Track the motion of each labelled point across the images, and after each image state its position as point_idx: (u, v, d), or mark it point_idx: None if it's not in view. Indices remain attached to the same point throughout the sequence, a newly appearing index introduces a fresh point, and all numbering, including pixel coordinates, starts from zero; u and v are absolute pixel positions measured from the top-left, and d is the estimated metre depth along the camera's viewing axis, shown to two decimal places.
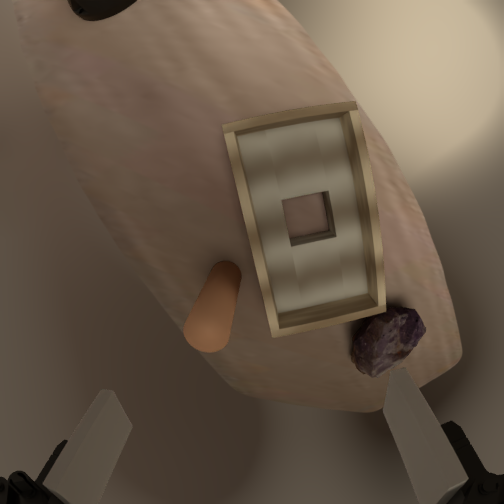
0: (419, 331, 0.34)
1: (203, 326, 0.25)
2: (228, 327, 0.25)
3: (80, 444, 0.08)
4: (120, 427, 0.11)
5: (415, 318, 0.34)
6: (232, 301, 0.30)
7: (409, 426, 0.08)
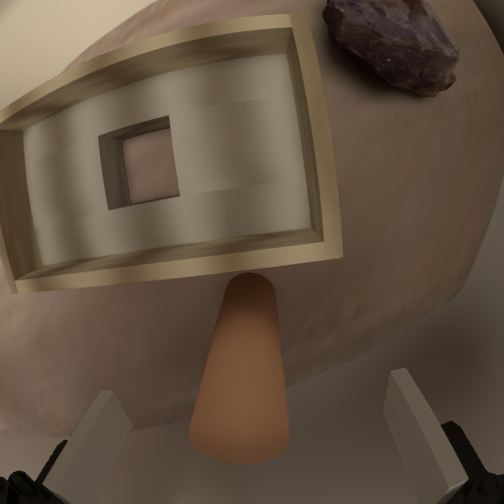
0: None
1: (221, 440, 0.10)
2: (227, 403, 0.10)
3: (80, 444, 0.08)
4: (120, 427, 0.11)
5: None
6: (230, 338, 0.14)
7: (408, 426, 0.08)
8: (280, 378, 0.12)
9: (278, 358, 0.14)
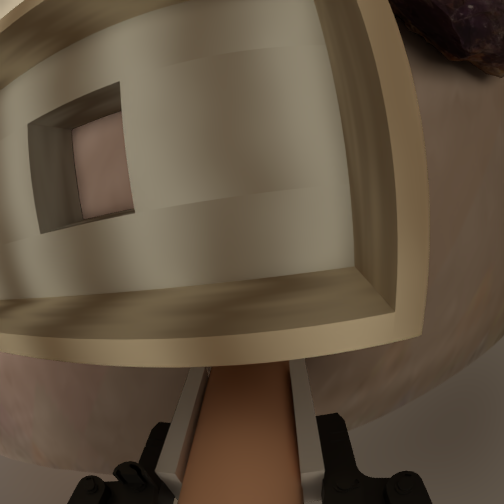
0: None
1: None
2: None
3: (188, 421, 0.10)
4: None
5: None
6: (217, 474, 0.07)
7: (294, 411, 0.11)
8: None
9: (298, 500, 0.06)
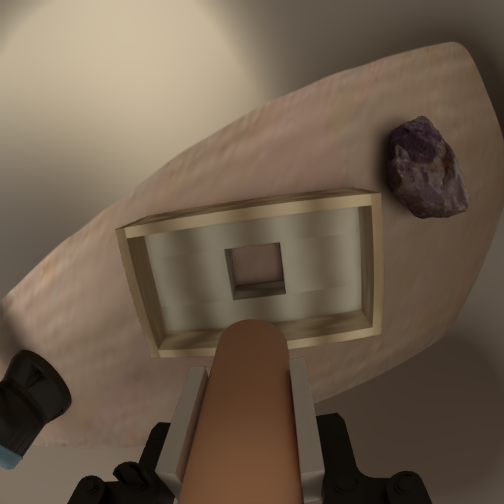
0: (422, 128, 0.23)
1: None
2: None
3: (189, 421, 0.10)
4: None
5: (403, 132, 0.23)
6: (217, 470, 0.07)
7: (294, 411, 0.11)
8: None
9: (297, 497, 0.06)
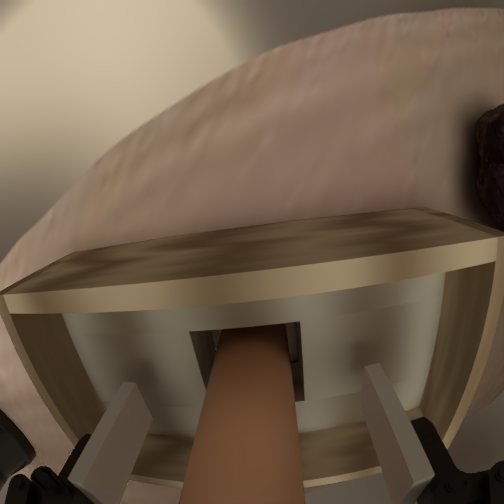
0: None
1: None
2: None
3: (105, 436, 0.09)
4: (142, 419, 0.12)
5: None
6: (225, 428, 0.09)
7: (380, 420, 0.09)
8: (298, 490, 0.07)
9: (295, 454, 0.08)
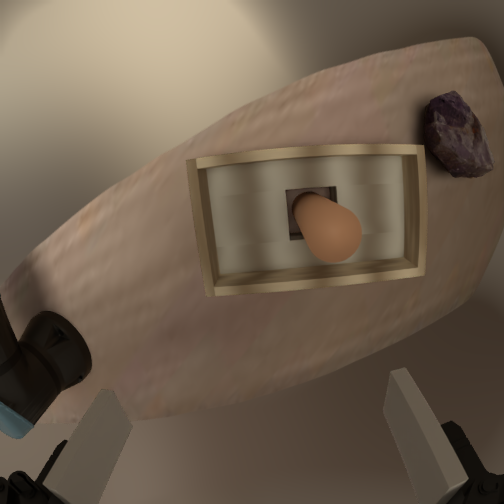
0: (454, 100, 0.24)
1: (325, 235, 0.20)
2: (330, 205, 0.20)
3: (80, 444, 0.08)
4: (120, 427, 0.11)
5: (440, 102, 0.24)
6: (316, 200, 0.25)
7: (409, 426, 0.08)
8: None
9: None
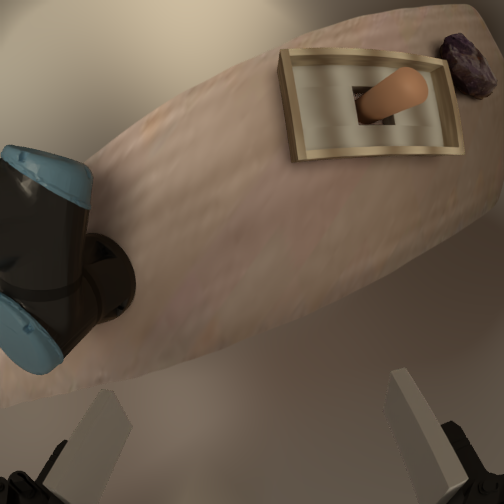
0: (462, 38, 0.25)
1: (405, 84, 0.22)
2: None
3: (80, 444, 0.08)
4: (120, 427, 0.11)
5: (452, 39, 0.26)
6: None
7: (409, 426, 0.08)
8: None
9: None
